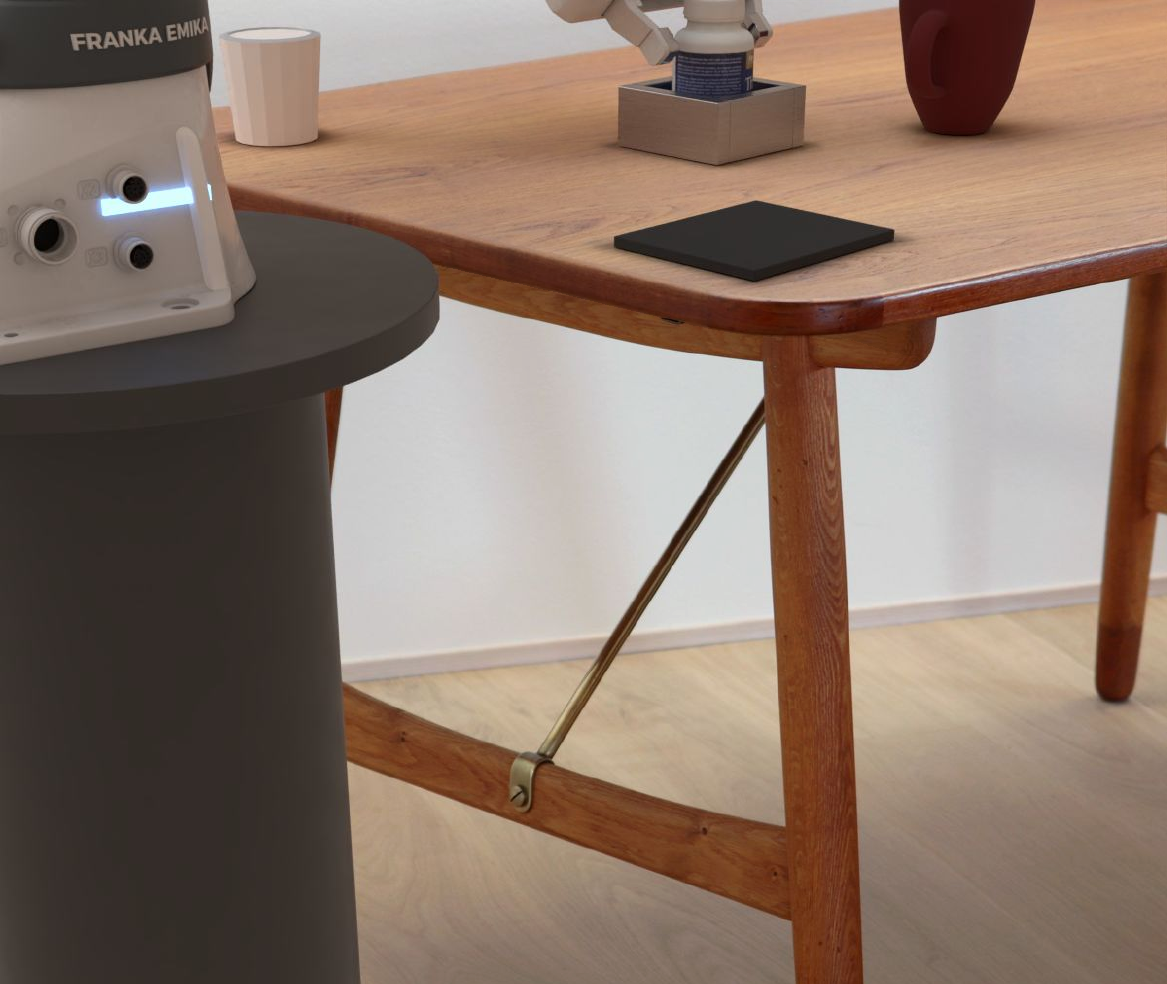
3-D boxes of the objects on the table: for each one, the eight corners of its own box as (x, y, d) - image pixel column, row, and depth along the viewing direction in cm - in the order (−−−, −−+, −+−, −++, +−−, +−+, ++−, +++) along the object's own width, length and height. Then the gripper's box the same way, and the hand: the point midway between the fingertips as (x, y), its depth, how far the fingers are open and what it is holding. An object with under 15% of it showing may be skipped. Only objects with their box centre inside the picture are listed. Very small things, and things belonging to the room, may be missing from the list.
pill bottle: (760, 152, 125) (766, 0, 121) (682, 155, 124) (686, 2, 120) (737, 136, 129) (742, -11, 125) (662, 139, 128) (664, -9, 124)
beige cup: (290, 151, 125) (283, 43, 122) (206, 142, 128) (197, 36, 125) (346, 133, 130) (340, 29, 128) (263, 125, 133) (256, 23, 130)
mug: (989, 155, 124) (1005, -25, 119) (857, 142, 128) (868, -33, 123) (1038, 123, 133) (1054, -44, 129) (914, 112, 137) (926, -51, 132)
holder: (716, 165, 121) (718, 102, 119) (617, 145, 126) (617, 85, 125) (803, 145, 127) (806, 85, 125) (704, 127, 132) (706, 69, 131)
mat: (754, 281, 96) (754, 270, 95) (613, 246, 102) (613, 236, 102) (894, 239, 103) (895, 229, 103) (755, 210, 110) (755, 199, 110)
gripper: (519, -142, 117) (632, 36, 115) (733, -156, 130) (837, 4, 128) (473, -71, 122) (580, 101, 119) (684, -92, 135) (783, 63, 133)
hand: (715, 50), depth 124 cm, fingers open, 8 cm apart
